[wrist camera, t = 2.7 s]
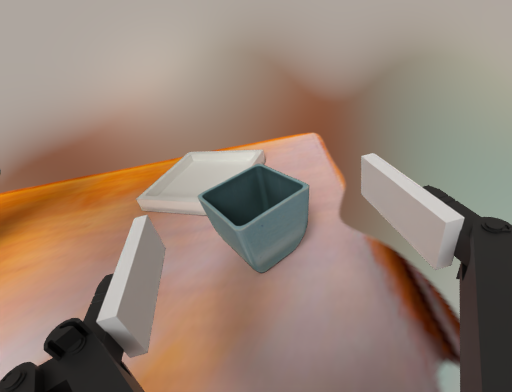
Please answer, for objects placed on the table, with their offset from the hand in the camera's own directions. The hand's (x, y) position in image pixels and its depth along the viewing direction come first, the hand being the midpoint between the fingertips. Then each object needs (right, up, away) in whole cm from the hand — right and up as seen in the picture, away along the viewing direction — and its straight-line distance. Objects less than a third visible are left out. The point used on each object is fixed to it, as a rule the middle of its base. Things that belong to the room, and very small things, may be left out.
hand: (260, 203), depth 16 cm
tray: (-9, +2, +33) cm, 34 cm away
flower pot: (+1, -6, +16) cm, 17 cm away
